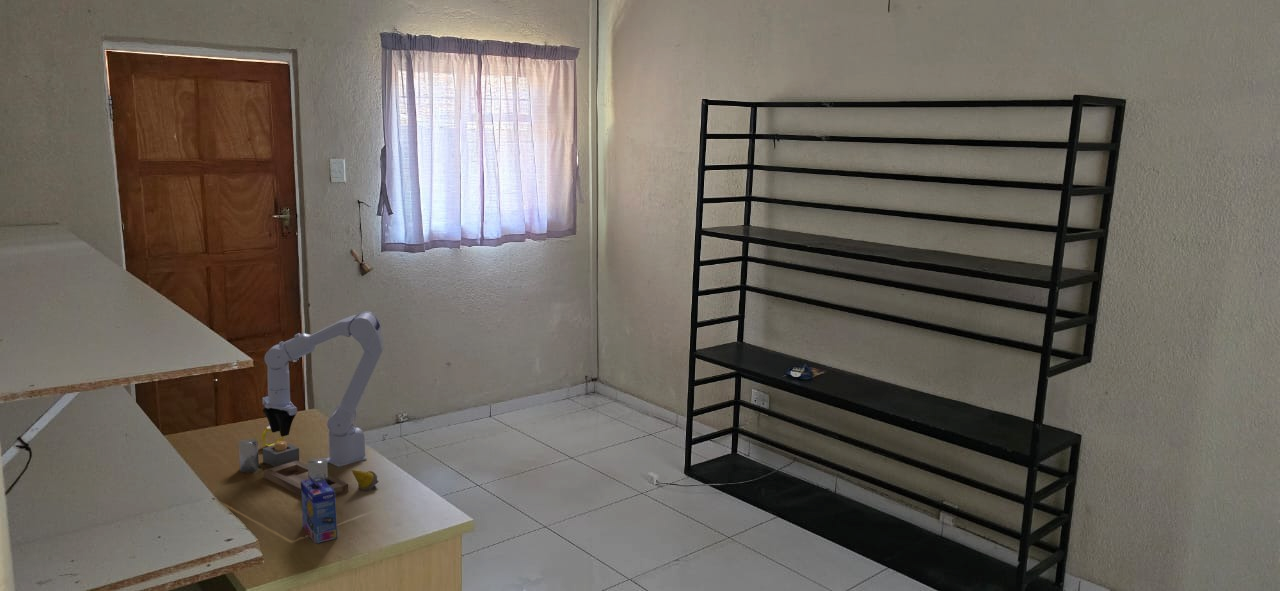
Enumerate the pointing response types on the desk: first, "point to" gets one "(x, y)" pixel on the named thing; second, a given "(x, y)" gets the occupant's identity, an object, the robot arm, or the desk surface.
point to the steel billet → (248, 455)
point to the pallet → (298, 477)
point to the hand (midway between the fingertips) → (280, 433)
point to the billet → (318, 469)
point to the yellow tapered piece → (365, 479)
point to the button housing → (280, 455)
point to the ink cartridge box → (319, 510)
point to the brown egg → (280, 446)
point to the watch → (265, 434)
